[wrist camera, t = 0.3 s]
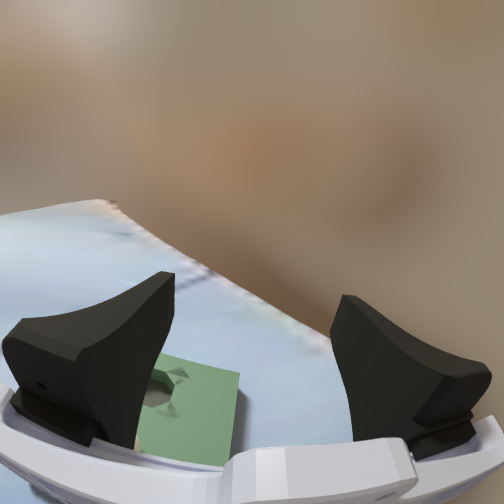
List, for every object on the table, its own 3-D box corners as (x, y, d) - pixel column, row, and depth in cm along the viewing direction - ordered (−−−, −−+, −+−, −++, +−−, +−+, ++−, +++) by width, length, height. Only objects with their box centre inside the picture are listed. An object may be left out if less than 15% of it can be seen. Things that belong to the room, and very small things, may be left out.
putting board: (214, 544, 12) (218, 543, 11) (25, 470, 11) (14, 462, 10) (235, 385, 30) (239, 372, 29) (97, 344, 30) (94, 329, 29)
